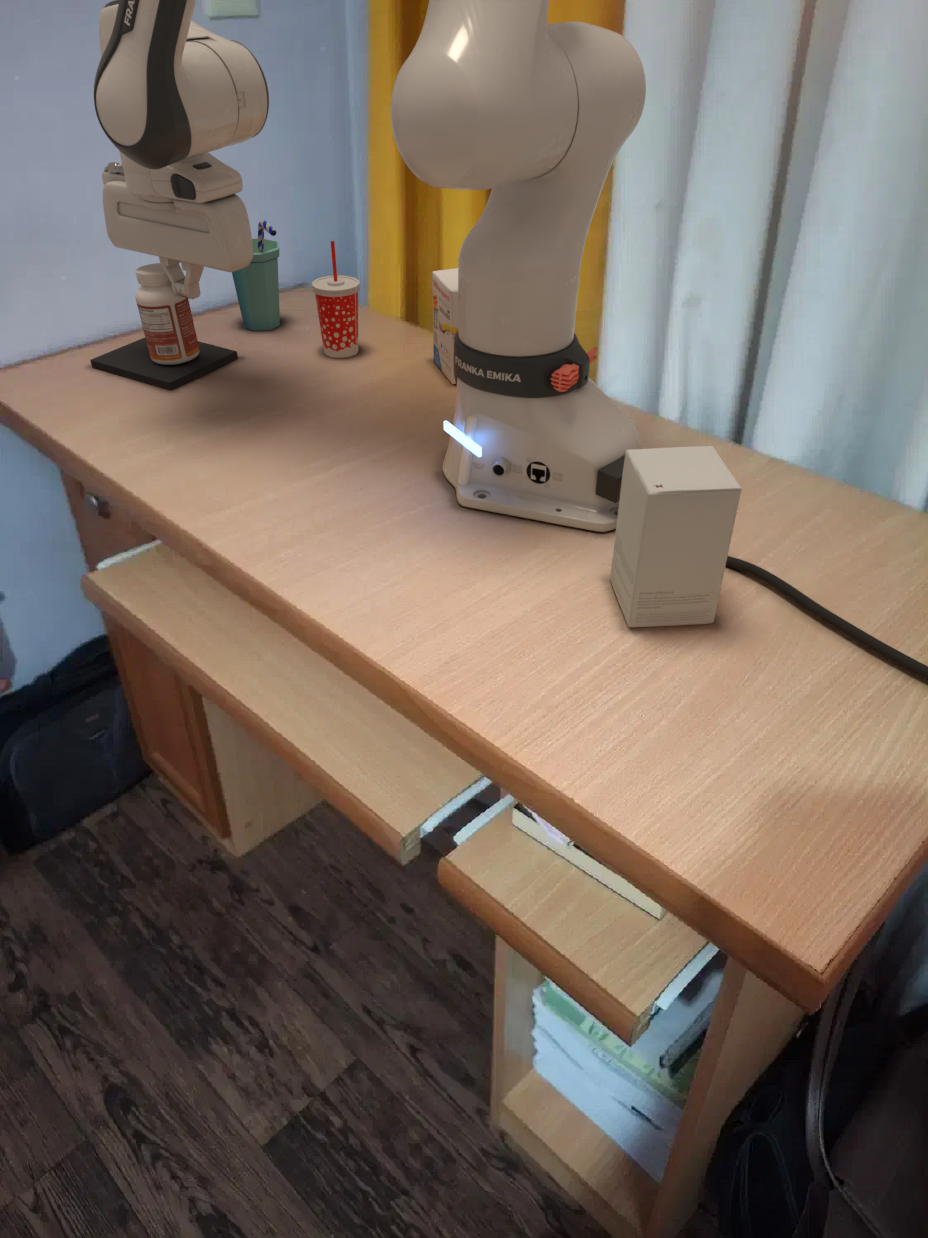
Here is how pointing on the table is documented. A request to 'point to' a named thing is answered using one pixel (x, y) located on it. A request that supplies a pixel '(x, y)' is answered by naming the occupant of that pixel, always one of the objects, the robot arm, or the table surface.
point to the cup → (260, 283)
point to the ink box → (445, 319)
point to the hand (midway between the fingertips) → (187, 296)
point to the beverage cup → (338, 312)
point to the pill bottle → (165, 318)
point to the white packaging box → (673, 535)
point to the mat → (141, 367)
